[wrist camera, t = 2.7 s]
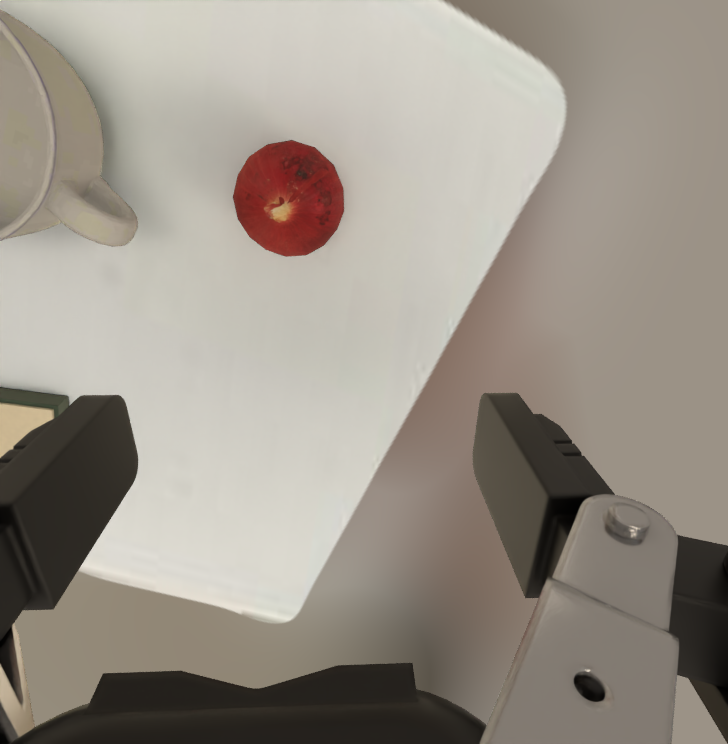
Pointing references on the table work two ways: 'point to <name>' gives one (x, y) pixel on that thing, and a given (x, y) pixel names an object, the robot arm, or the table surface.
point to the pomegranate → (289, 198)
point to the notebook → (25, 414)
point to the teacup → (51, 146)
